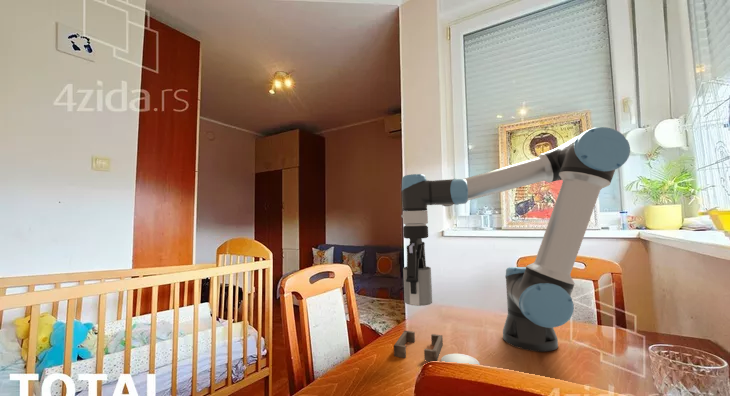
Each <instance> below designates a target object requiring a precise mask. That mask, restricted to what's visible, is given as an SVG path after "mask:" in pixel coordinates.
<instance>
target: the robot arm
mask: <svg viewBox="0 0 730 396" xmlns="http://www.w3.org/2000/svg"><path fill="white" fill-rule="evenodd" d="M630 155H631V147H630V143H629V141H628V139H627V138H626V137H625V135H624V134H623V133H621V132H620V131H619V130H617V129H614V128H611V127H606V126H599V127H598V126H597V127H593V128H591V129H587V130H584V131H582V132H581V133H580V134H578V135H577V136H574V137H573V138H572V139H570V140H568V141H567V142H566V141H565V143H563V144H561V145H560V146H558V147H556V148H554V149H551V150H548V151H546V152H543V153H540V154H539V155H538V156H537V157H536V158H531V159H528V160H525V161H521V162H519V163H515V164H511V165H508V166H504V167H501V168H498V169H497V168H496V169H494V170H490V171H487V172H483V173H479V174H476V175H473V176H469V177H465V178H453V179H452V178H451V179H439V180H428V179H427V178H426V175H425V174H423V173H412V174H406V175H404V176H403V177H402V179H401V203H402V205H401V206H402V214H401V215H400V217H401V218H402V224H403V225H404V226H403V227H402V229H403V231H402V234H403V238H404V239H408V240H409V244H408V245H406V254H407V255H406V267H407V279H406V282H409V293H410V306H415V305H420V297H419V282H418V269H420V268H424V266H426V267H427V264H426V252H425V250H426V249H425V244H426V243H425V242H424V241H423V239H427V238H429V226H428V225H427V224H428V223H429V221H428V219H429V218H428V217H429V216H428V206H436V205H437V206H438V205H439V206H442V207H451V206H453V205H455V206H457V205H464V204H467V203H468V201H473V200H475V199H479V198H484V197H487V196H490V195H495V194H499V193H502V192H506V191H509V190H514V189H517V188H522V187H526V186H529V185H533V184H537V183H540V182H546V183H553V182H559V181H562V183H561V186H560V189H559V191H558V195H557V197H556V200H555V202H554V206H553V208H552V212H551V214H550V218H549V220H548V223H547V226H546V229H545V231H544V235H543V237H542V240H541V244H540V246H539V248H538V251H537V255H536V257H535V260H534V262H533V263H530V264H528V265H526V266H515V267H514V266H510V267H507V268H506V270H505V283H506V285H505V286H506V301H507V302H506V303H507V304H506V305H507V314H506V319H505V322H504V326H503V329H502V339H503V341H505V342H506V343H507V344H509V346H513V347H515V348H517V349H518V348H519V349H520V350H521V349H522V350H526V351H532V352H543V353H544V352H546V353H547V352H552V351H554V350H557V349H558V347H559V343H558V336H557V333H556V331H555V329H554V328H557V327H558V328H559V327H561V326H564V325H565V324H567V323H568V321H570V320H571V318H572V316H573V314H574V308H575V307H574V305H575V304H574V301H573V298H572V297H571V295H572V292H573V290H574V287H575V284H576V283H575V281H574V280H573V278H572V276H571V273H572V271H573V268H574V265H575V263H576V259H577V257H578V254H579V251H580V248H581V246H582V242H583V240H584V237H585V234H586V232H587V228H588V226H589V223H590V220H591V218H592V215H593V212H594V209H595V206H596V203H597V200H598V197H599V195H600V193H601V190H602V189H604V188H606V187H609V186H610V185H611V183H612V180H613V178H614V174H615V173H616V172H615V171H616V170H618V169H620V168H621V167H622V166H623V165H624V164H626V163H627V161H628V159H629V157H630ZM411 276H413V277H411Z"/></svg>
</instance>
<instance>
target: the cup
mask: <svg viewBox="0 0 730 396" xmlns="http://www.w3.org/2000/svg"><path fill="white" fill-rule="evenodd" d="M402 272H403V273H402V274H403V279H402V280H403V299H404V301H403V302H404V303H405V304H406V305H410V293H409V282H406V279H407V266H404V267H402ZM411 277H413V276H411ZM418 282H419V297H420V305H414V306H415V307H421V306H425V307H426V306H429V305H431V304H433V289H432V286H433V284H432V268H431V267H430V266H427V265H426V266H424V268H420V269H418ZM410 306H411V305H410Z"/></svg>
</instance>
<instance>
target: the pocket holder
mask: <svg viewBox="0 0 730 396" xmlns="http://www.w3.org/2000/svg"><path fill="white" fill-rule="evenodd" d="M430 336H431V337H430V338H431V339H430V340H431V346H433V349H431V348H430V349H429V348H424V349H423V354H424V355H423V356H424V361H425V360H426V361H428V363H431V362H430V361H437V362H438V360H439V357H440V355H441V352H442V349H443V346H444V344H443V343H444V341H443V338H444V337H443V334H435V333H432V334H431V335H430ZM415 342H416V336H415V331H413V330H412V331H411V330H404V331H403V332H402V334H401V335H400V336H399V338H398V339H397V341H396V342H395V344H394V345H393V356H394V357H396V358H402V359H403V358H404V359H405V358H406V357H407V345H406V344H407V343H415ZM439 354H440V355H439ZM426 361H425V362H426Z"/></svg>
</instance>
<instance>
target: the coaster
mask: <svg viewBox="0 0 730 396" xmlns="http://www.w3.org/2000/svg"><path fill="white" fill-rule="evenodd" d="M441 361H445V362H457V363H469V364H478V365H481V364H480V361H478V360H477V358H475V357H473V356H471V355H467V354H463V353H449V354H445V355H443V356H442V357H441V359H440V362H441Z"/></svg>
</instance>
